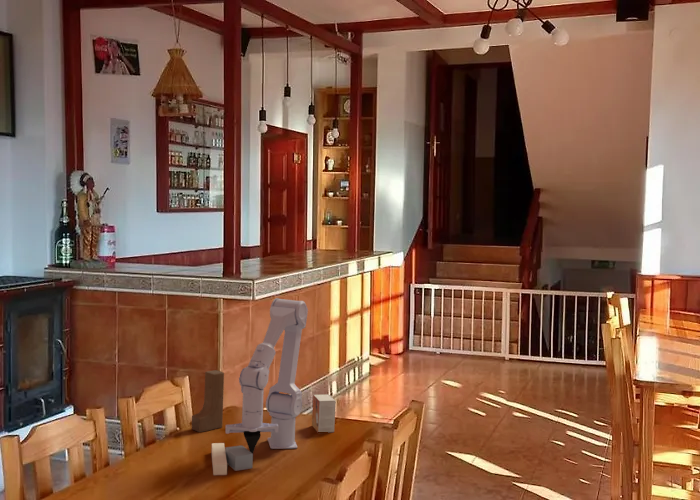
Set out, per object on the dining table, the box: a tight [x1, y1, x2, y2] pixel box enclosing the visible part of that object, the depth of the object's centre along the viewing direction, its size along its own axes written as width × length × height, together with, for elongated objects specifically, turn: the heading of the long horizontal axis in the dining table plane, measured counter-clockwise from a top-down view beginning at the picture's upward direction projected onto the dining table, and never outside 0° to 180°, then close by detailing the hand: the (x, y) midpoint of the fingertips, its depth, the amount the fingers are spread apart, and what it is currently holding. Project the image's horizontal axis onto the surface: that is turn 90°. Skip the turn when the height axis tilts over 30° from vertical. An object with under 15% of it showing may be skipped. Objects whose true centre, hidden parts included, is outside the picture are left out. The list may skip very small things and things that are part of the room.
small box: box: [311, 393, 337, 433], centre depth 247 cm, size 8×6×10 cm
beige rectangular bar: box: [211, 442, 228, 476], centre depth 212 cm, size 18×4×3 cm, turn 12°
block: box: [225, 444, 254, 471], centre depth 211 cm, size 8×5×4 cm, turn 29°
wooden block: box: [191, 369, 225, 433], centre depth 242 cm, size 9×4×18 cm, turn 136°
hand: (251, 457), depth 213 cm, fingers closed
